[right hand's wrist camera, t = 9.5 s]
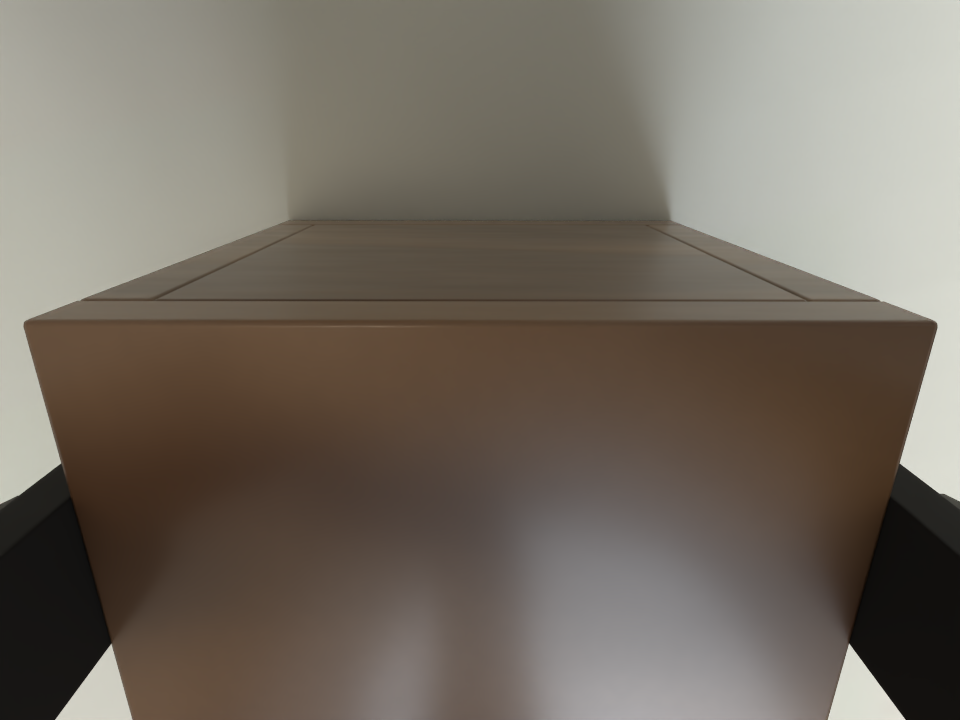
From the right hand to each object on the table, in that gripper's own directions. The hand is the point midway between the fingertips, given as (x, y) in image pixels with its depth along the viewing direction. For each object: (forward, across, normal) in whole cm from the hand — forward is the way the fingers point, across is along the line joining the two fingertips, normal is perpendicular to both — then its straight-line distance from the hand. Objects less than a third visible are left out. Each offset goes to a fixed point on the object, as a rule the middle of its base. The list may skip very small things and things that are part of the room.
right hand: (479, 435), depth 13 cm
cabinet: (+6, 0, -6) cm, 8 cm away
